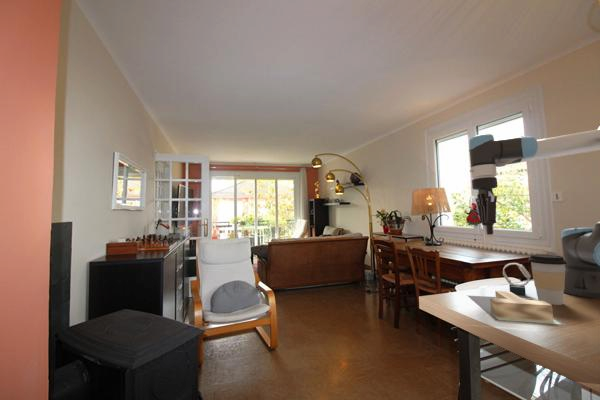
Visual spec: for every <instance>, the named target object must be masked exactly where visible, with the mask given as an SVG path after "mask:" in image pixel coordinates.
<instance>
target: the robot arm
mask: <svg viewBox="0 0 600 400" xmlns="http://www.w3.org/2000/svg"><path fill="white" fill-rule="evenodd" d="M468 146H469V149H468V152H469V159H470V169H469V172H470V173H471V178H472V180H471V186H472V190H477V197H476V198H475V202H476V207H477V212H478V219H479V223H480V224H481V225H482V230H483V232H482V233H483V234H482V235H483V244H484V245H495V231H494V225H495V224H496V223H497V200H498V195H495V194H494V191H493V189H497V188H498V178H497V177H496V176H497V175H498V171H497V168H500V167H505V166H508V165H514V164H519V163H524V162H531V161H539V160H544V159H552V158H557V157H563V156H571V155H576V154H583V153H591V152H596V151H600V126H599V127H598V128H597V129H592V130H587V131H581V132H575V133H569V134H564V135H558V136H553V137H547V138H541V139H536V137H534V136H532V135H529V136H528V135H527V136H523V135H522V136H518V137H517V136H516V137H511V138H510V137H508V138H500V139H495V138H494V135H493V134H491V133H483V134H477V135H475V136H472V137H471V138H470V139H469V145H468ZM560 240H561V249H562V257H563V259H564V260H565V261H566V263H567V264H565V287H564V294H565V293H566V294H569V295H573V296H577V297H583V298H584V297H585V298H588V299H589V298H591V299H598V298H600V221H598V222H596V223H595V225H594V227H577V228H575V227H573V228H566V229H565V228H564V229H563V230H562V231H561V237H560Z"/></svg>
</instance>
